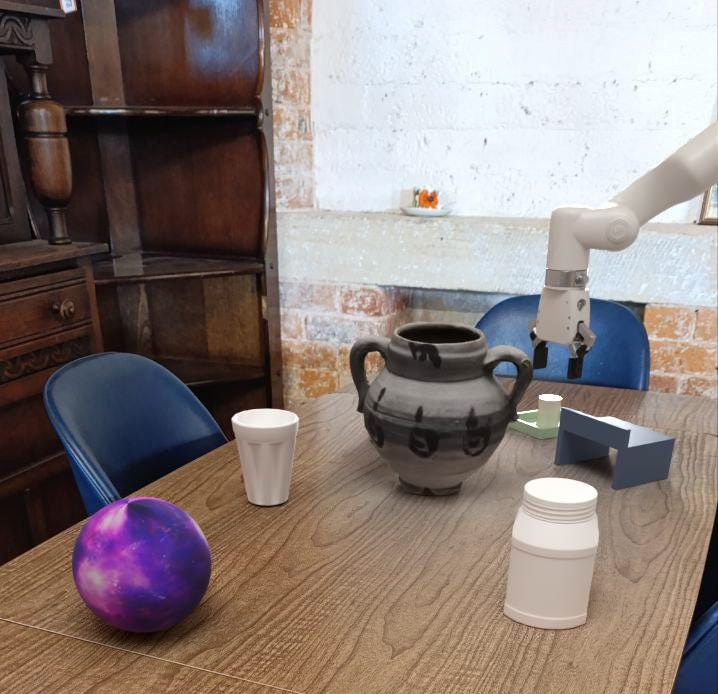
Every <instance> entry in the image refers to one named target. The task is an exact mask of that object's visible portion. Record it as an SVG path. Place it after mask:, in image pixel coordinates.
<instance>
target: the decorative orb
mask: <svg viewBox="0 0 718 694" xmlns="http://www.w3.org/2000/svg"><path fill="white" fill-rule="evenodd" d="M71 569H72V570H71V572H72V578H73V582H74V586H75V588H76V590H77V592H78V595H79V597H80V599H81V600H82V601H83V603H84V605H85V606H86V607H87V609H89V610H90V612H91V613H93V614H94V615H95V616H96V617H97V618H98V619H100V620H102V621H103V622H104V623H106V624H108V625H110V626H111V627H114V628H117V629H119V630H123V631H127V632H131V633H154V632H159V631H163V630H167V629H169V628H171V627H173V626H175V625H178V624H179V623H180V622H182V621H183V620H185V619H187V617H189V616H190V615H191V614H193V612H194V611H195V610H196V609H197V607H198V606H199V605H200V603H201V602H202V601H203V598H204V597H205V595H206V593H207V591H208V588H209V585H210V582H211V577H212V553H211V549H210V545H209V542H208V540H207V538H206V536H205V534H204V532H203V530H202V529H201V527H200V526H199V524H198V523H197V522H196V521H195V519H193V517H191V516H190V515H189V514H188V513H187V512H186V511H185V510H184V509H182V508H180V507H179V506H177V505H175V504H173V503H171V502H169V501H166V500H163V499H160V498H157V497H151V496H132V497H131V496H129V497H125V498H121V499H118V500H115V501H113V502H110V503H109V504H106V505H105V506H104V507H101V508H100V509H99V510H98V511H96V512H95V513H93V515H92V516H91V517H90V518H89V519H88V520H87V521H86V522H85V524H84V525H83V526H82V528H81V530H80V531H79V533H78V535H77V537H76V540H75V543H74V546H73V550H72V555H71Z"/></svg>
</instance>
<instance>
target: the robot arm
mask: <svg viewBox="0 0 718 694" xmlns="http://www.w3.org/2000/svg"><path fill="white" fill-rule="evenodd" d="M717 184H718V119H716V120H715V121H713V122H712V123H711V124H710V125H708V126H707V127H705V128H704V129H703V130H701V132H699V133H698V134H696V135H695V136H694V137H692V138H691V139H690V140H688V141H687V142H686V143H685V144H683V145H682V146H680V147H679V148H677V149H676V150H675V151H673V152H672V153H671V154H669V155H668V156H667V157H665V158H663V159H662V160H661V161H659V163H658V164H656V165H655V166H653V167H652V168H651V169H649V170H648V171H646V172H645V173H643V174H642V175H641V176H639V177H638V178H636V179H635V180H633V181H632V182H631V183H630V184H628V185H626V186H625V187H624V188H623V189H621V190H620V191H619V192H617V193H616V194H615V195H613V196H612V197H611V198H609V199H608V200H606V201H605V202H604V203H603V204H602V205H601V206H599V207H593V208H592V207H590V206H588V205H582V204H581V205H580V204H563V205H557V206H556V207H554V208H553V210H552V211H551V214H550V219H549V220H550V221H549V231H548V232H549V233H548V243H547V255H546V264H545V274H544V275H545V276H544V278H545V279H544V285H543V286H542V290H541V293H540V297H539V301H538V302H539V304H538V309H537V313H536V314H537V315H536V317H535V318H533V319H531V320H529V321H528V322H527V325H528V330H529V331H528V332H529V338H530V340H531V347H532V348H533V356H532V357H533V358H532V365H533V368H534V370H535V371H536V370H542V369H543V370H544V369H546V368H547V367H548V358H549V346H547V345H548V344H549V343H551V344H556V345H560V346H565V347H567V349H568V351H569V354H570V356H571V357H569V358H568V362H567V371H566V379H567V380H576V379H581V378H582V376H583V366H584V358H586V357H587V356H588V353H589V352H590V351H591V350H592V346H593V345H594V343H595V341H596V339H597V335H596V334H595V333H594V332H593V331H592V330H591V329H590V323H591V322H590V319H591V298H590V297H591V296H590V289H589V288H587V284H588V283H589V281H590V278H589V276H588V272H589V265H590V255H591V250H598V251H604V252H610V253H611V252H612V253H615V252H616V253H617V252H622V251H624V250H627V249H628V248H630V247H631V246H632V245H633V244H634V243H635V241H636V240H637V238H638V236H639V233H640V228H641V227H643V226H644V225H645V224H647V223H648V222H649V221H651V220H652V219H654V218H655V217H658V216H659V215H660V214H662V213H663V212H665V211H668V209H671V208H673V207H676V206H677V205H680V204H684V203H686V202H689V201H692V200H694V199H695V198H698V197H699V196H701V195H703V194H704V193H706V192H707V191H708V190H709V189H711V188H712V187H714V186H715V185H717ZM576 347H577V348H576Z"/></svg>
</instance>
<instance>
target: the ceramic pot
mask: <svg viewBox="0 0 718 694" xmlns="http://www.w3.org/2000/svg"><path fill="white" fill-rule="evenodd" d="M374 352H378V353H379V354H380V357H381V358H382V359H383V360H384V365H383V368H381V370H380V371H379V373H378V374H377V376H376V377H375V378H374V380H373V381H372V382H371V383H370V381H369V380H368V377H367V369H366V358H367V356H368V354H369V353H374ZM501 363H512V364H513V365H514V367H515V370H516V378H515V382H514V384H513V386H512V389H511V391H510V392H509V394H508V395H507V393H506V390H505V388H504V386H503V384H502V382H501V381H500V380H499V379H498V378H497V376H496V375H495V374H494V371H495V369H496V368H497V367H498V366H499V365H500V364H501ZM349 370H350V374H351V379H352V382H353V384H354V386H355V389H356V392H357V397H358V402H357V408H356V412H358V413H360V414H363V416H362V417H363V423H364V428H365V430H366V431H367V434H368V435H369V436H368V437H370V440H371V442H372V444H373V446H374V447H375V449H376V451H377V453H378V454H379V457H381V459H383V461H384V462H385V464H386V465H387V466H388V467H389V468H390V469H391V471H392V472H394V473H395V474H396V475H397V476H398V480H399V483H400V486H401V487H402V489H403V490H404V491H406V492H408V493H411V494H414V495H422V496H446V495H451V494H454V493H456V492H458V491H459V490H460V489H461V488H462V485H463V481H465V480H466V479H468V478H469V477H470V476H472V475H473V474H475V473H477V472H478V471H479V470H480V469H481V468H482V467H484V465H486V463H487V462H488V461H489V460H490V459H491V457H492V456H493V455H494V453H495V451H496V450H497V449H498V447H500V444H501V442H502V441H503V439H504V437H505V436H506V432H507V429H508V428H509V427H508V424H509V423H514V422H516V421H517V420H518V419H519V415H518V413H519V412H518V411H517V407H518V405H519V404H520V402H521V400H523V397H524V395H525V393H526V392H527V390H528V388H529V386H530V385H531V383H532V381H533V377H534V370H535V369H534V368H533V361H532V360H531V358H530V357H529V356H528V354H526V352H524V351H523V350H521V349H519V348H517V347H515V346H513V345H507V344H505V345H502V344H499V345H496V346H492V347H491V348H489V345H488V342H487V339H486V336H485V333H484V332H483V331H482V330H481V329H478V328H477V327H474V326H471V325H467V324H464V323H458V322H453V321H416V322H408V323H406V324H403V325H400V326H399V327H397V328H395V329H394V330H393V333H392V336H391V338H389V337H386V336H382V335H377V334H367V335H365V336H363V337H360V338H358V339H357V340H356V341H355V342H354V343H353V345H352V346H351V348H350V351H349Z"/></svg>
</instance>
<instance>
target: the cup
mask: <svg viewBox="0 0 718 694" xmlns="http://www.w3.org/2000/svg"><path fill="white" fill-rule="evenodd" d="M299 423H300V418H299V417H298V415H297V414H296V413H294V412H292V411H289V410H284V409H279V408H255V409H248V410H243V411H240V412H237V413H235V414H234V415H233V416H232V417H231V425H232V431H233V433H234V437H235V442H236V446H237V452H238V458H239V462H240V467H241V471H242V478H243V482H244V483H243V484H244V487H245V492H246V497H247V500H248V502H250V503H251V504H254V505H259V506H276V505H280V504H283V503H285V502H287V501H288V499H289V495H290V487H291V479H292V474H293V464H294V457H295V449H296V442H297V434H298V431H299Z"/></svg>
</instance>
